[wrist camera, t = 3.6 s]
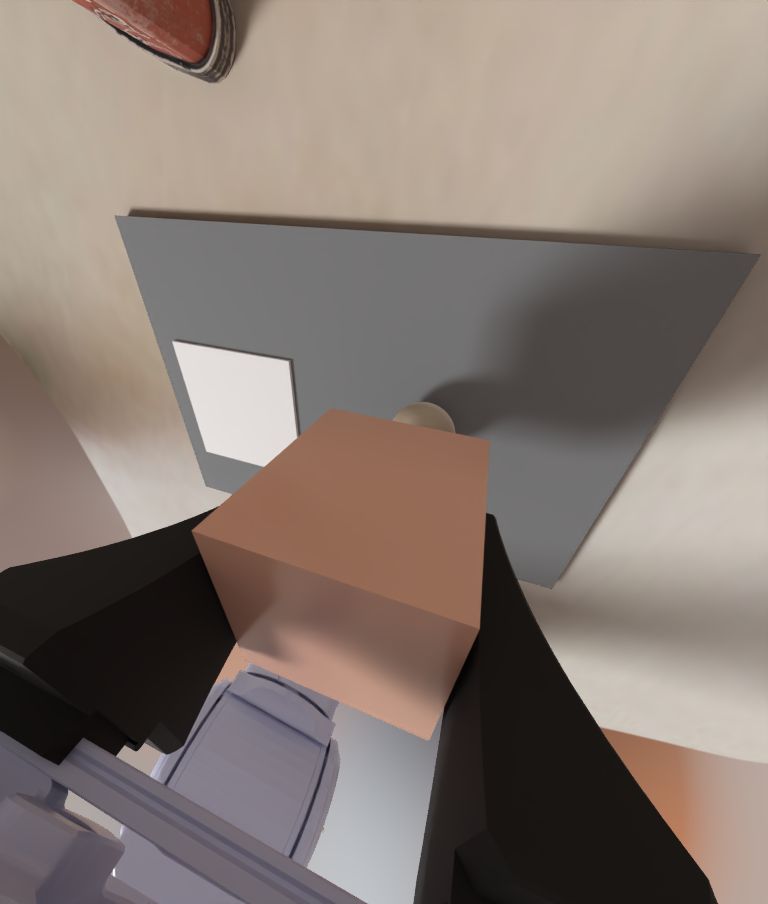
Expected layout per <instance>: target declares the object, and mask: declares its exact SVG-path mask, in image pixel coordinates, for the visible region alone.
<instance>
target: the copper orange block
mask: <svg viewBox="0 0 768 904" xmlns="http://www.w3.org/2000/svg"><path fill="white" fill-rule="evenodd" d="M489 447H490V440H485V439H480V438H476V437H471V436H466V435H461V434H456V433H451V432H446V431H441V430H436V429H431V428H427V427H422V426H417V425H412V424H407V423H402V422H397V421H392V420H387V419H382V418H378V417H373V416H368V415H363V414H358V413H353V412H348V411H343V410H338V409H333V408H331V409H330V410H328V411H327V412H326V413H325V414H324V415H323V416H322V417H320V418H319V419H318V420H317V421H316V422H315V423H314V424H312V425H311V426H310V427H309V428H308V429H307V430H306V431H304V432H303V433H302V434H301V435H300V436H299V437H298V438H297V439H295V440H294V441H293V442H292V443H291V444H290V445H289V446H287V447H286V448H285V449H284V450H283V451H282V452H281V453H279V454H278V455H277V456H276V457H275V458H274V459H273V460H271V461H270V462H269V463H268V464H267V465H266V466H265V467H264V468H262V469H261V470H260V471H259V472H258V473H257V474H256V475H254V476H253V477H252V478H251V479H250V480H249V481H248V482H246V483H245V484H244V485H243V486H242V487H241V488H240V489H238V490H237V491H236V492H235V493H234V494H233V495H232V496H231V497H229V498H228V499H227V500H226V501H225V502H224V503H223V504H221V505H220V506H219V507H218V508H217V509H216V510H215V511H213V512H212V513H211V514H210V515H209V516H208V517H207V518H205V519H204V520H203V521H202V522H201V523H200V524H199V525H198V526H196V527H195V528H194V529H193V530H192V533H193V536H194V538H195V541H196V543H197V545H198V548H199V550H200V553H201V555H202V558H203V560H204V563H205V565H206V567H207V570H208V572H209V575H210V577H211V580H212V582H213V585H214V587H215V589H216V592H217V594H218V597H219V599H220V602H221V604H222V607H223V609H224V611H225V614H226V616H227V619H228V621H229V624H230V626H231V629H232V631H233V633H234V636H235V638H236V641H237V643H238V646H239V648H240V651H241V653H242V655H243V658H244V660H245V661H247V662H249V663H252V664H254V665H256V666H258V667H261V668H263V669H265V670H268V671H270V672H272V673H274V674H277V675H279V676H281V677H284V678H286V679H288V680H290V681H293V682H295V683H297V684H300V685H302V686H304V687H307V688H309V689H311V690H313V691H316V692H318V693H320V694H323V695H325V696H327V697H329V698H332V699H334V700H336V701H339V702H341V703H343V704H346V705H348V706H350V707H352V708H355V709H357V710H359V711H361V712H364V713H366V714H368V715H371V716H373V717H375V718H378V719H380V720H382V721H384V722H387V723H389V724H391V725H394V726H396V727H398V728H401V729H403V730H405V731H407V732H410V733H412V734H414V735H416V736H419V737H421V738H423V739H426V740H429V739H430V737H431V734H432V732H433V730H434V728H435V726H436V724H437V722H438V719H439V717H440V715H441V713H442V711H443V708H444V706H445V704H446V702H447V700H448V697H449V695H450V693H451V691H452V689H453V686H454V684H455V682H456V680H457V678H458V675H459V673H460V671H461V669H462V667H463V664H464V662H465V660H466V658H467V656H468V653H469V651H470V649H471V647H472V645H473V642H474V640H475V638H476V636H477V634H478V631H479V629H480V613H481V595H482V576H483V558H484V540H485V521H486V503H487V484H488V466H489Z"/></svg>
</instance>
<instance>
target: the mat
mask: <svg viewBox="0 0 768 904" xmlns="http://www.w3.org/2000/svg"><path fill="white" fill-rule="evenodd" d="M115 218H116V221H117V224H118V227H119V230H120V233H121V236H122V239H123V242H124V245H125V248H126V251H127V254H128V257H129V260H130V263H131V266H132V269H133V272H134V275H135V278H136V281H137V283H138V286H139V289H140V292H141V295H142V298H143V301H144V304H145V307H146V310H147V313H148V316H149V319H150V322H151V325H152V328H153V331H154V334H155V337H156V340H157V343H158V346H159V349H160V352H161V355H162V358H163V360H164V363H165V366H166V369H167V372H168V375H169V378H170V381H171V384H172V387H173V390H174V393H175V396H176V399H177V402H178V405H179V408H180V411H181V414H182V417H183V420H184V423H185V426H186V429H187V432H188V434H189V437H190V440H191V443H192V446H193V449H194V452H195V455H196V458H197V461H198V464H199V467H200V470H201V473H202V476H203V479H204V482H205V485H206V486H207V487H210V488H214V489H217V490H221V491H224V492H227V493H231V494H234V493H235V492H236V491H237V490H238V489H240V488H241V487H242V486H243V485H244V484H245V483H246V482H248V481H249V480H250V479H251V478H252V477H253V476H254V475H256V474H257V473H258V472H259V471H260V470H261V469H262V468H264V467H265V466H266V465H267V464H268V463H269V462H270V461H271V460H273V459H274V458H275V457H276V456H277V455H278V454H279V453H281V452H282V451H283V450H284V449H285V448H286V447H287V446H289V445H290V444H291V443H292V442H293V441H294V440H295V439H297V438H298V437H299V436H300V435H301V434H302V433H303V432H304V431H306V430H307V429H308V428H309V427H310V426H311V425H312V424H314V423H315V422H316V421H317V420H318V419H319V418H320V417H322V416H323V415H324V414H325V413H326V412H327V411H328V410H330V409H331V408H333V409H338V410H343V411H348V412H353V413H358V414H363V415H368V416H373V417H378V418H382V419H387V420H393V418H394V417H395V415H396V414H397V413H398V412H399V411H400V410H401V409H402V408H404V407H406V406H407V405H410V404H412V403H416V402H429V403H433V404H435V405H437V406H439V407H441V408H442V409H444V410H445V411H446V412H447V413H448V415H449V416H450V418H451V419H452V421H453V424H454V427H455V433H456V434H461V435H466V436H471V437H476V438H480V439H485V440H490V447H489V466H488V484H487V503H486V513H489V514H492V515H494V516H495V518H496V520H497V524H498V528H499V531H500V535H501V538H502V541H503V544H504V547H505V550H506V553H507V555H508V558H509V561H510V563H511V566H512V568H513V571H514V573H515V576H516V578H517V579H520V580H523V581H526V582H530V583H533V584H536V585H540V586H543V587H547V588H550V589H552V588H553V586H554V585H555V583H556V582H557V580H558V578H559V577H560V575H561V574H562V572H563V570H564V569H565V567H566V566H567V564H568V562H569V561H570V559H571V558H572V556H573V554H574V553H575V551H576V550H577V548H578V546H579V545H580V543H581V542H582V540H583V538H584V537H585V535H586V534H587V532H588V530H589V529H590V527H591V526H592V524H593V522H594V521H595V519H596V518H597V516H598V514H599V513H600V511H601V510H602V508H603V506H604V505H605V503H606V502H607V500H608V498H609V497H610V495H611V494H612V492H613V490H614V489H615V487H616V486H617V484H618V482H619V481H620V479H621V478H622V476H623V474H624V473H625V471H626V470H627V468H628V466H629V465H630V463H631V462H632V460H633V458H634V457H635V455H636V454H637V452H638V450H639V449H640V447H641V446H642V444H643V442H644V441H645V439H646V438H647V436H648V434H649V433H650V431H651V430H652V428H653V426H654V425H655V423H656V421H657V420H658V418H659V417H660V415H661V413H662V412H663V410H664V409H665V407H666V405H667V404H668V402H669V401H670V399H671V397H672V396H673V394H674V393H675V391H676V389H677V388H678V386H679V385H680V383H681V381H682V380H683V378H684V377H685V375H686V373H687V372H688V370H689V369H690V367H691V365H692V364H693V362H694V361H695V359H696V357H697V356H698V354H699V353H700V351H701V349H702V348H703V346H704V345H705V343H706V341H707V340H708V338H709V337H710V335H711V333H712V332H713V330H714V329H715V327H716V325H717V324H718V322H719V321H720V319H721V317H722V316H723V314H724V313H725V311H726V309H727V308H728V306H729V305H730V303H731V301H732V300H733V298H734V297H735V295H736V293H737V292H738V290H739V289H740V287H741V285H742V284H743V282H744V281H745V279H746V277H747V276H748V274H749V273H750V271H751V269H752V268H753V266H754V265H755V263H756V261H757V260H758V258H759V257H760V255H761V254H746V253H730V252H713V251H697V250H680V249H663V248H647V247H630V246H613V245H597V244H580V243H564V242H547V241H530V240H514V239H497V238H480V237H464V236H447V235H431V234H414V233H397V232H381V231H364V230H347V229H331V228H314V227H298V226H281V225H264V224H248V223H231V222H214V221H198V220H181V219H165V218H148V217H131V216H115Z"/></svg>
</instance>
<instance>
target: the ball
mask: <svg viewBox="0 0 768 904" xmlns="http://www.w3.org/2000/svg"><path fill="white" fill-rule="evenodd" d="M392 421H397V422H402V423H407V424H412V425H417V426H422V427H427V428H431V429H436V430H441V431H446V432H451V433H455V427H454V424H453V421H452V419H451V418H450V416H449V415H448V413H447V412H446V411H445V410H444V409H442V408H441V407H439V406H437V405H435V404H433V403H429V402H416V403H412V404H410V405H407V406H406V407H404V408H402V409H401V410H400V411H399V412H398V413H397V414H396V415H395V417H394V418H393V420H392Z"/></svg>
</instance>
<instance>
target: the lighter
mask: <svg viewBox="0 0 768 904" xmlns="http://www.w3.org/2000/svg"><path fill="white" fill-rule="evenodd" d="M73 1H74V2H76V3H78V4H79V5H81V6H83V7H84V8H86V9H87V10H89V11H90V12H91V13H92V14H93V15H95V16H96V17H97V18H98V19H100V20H101V21H102V22H103V23H104V24H106V25H107V26H108V27H109V28H110V29H112V30H113V31H114V32H115V33H117V34H118V35H119V36H120V37H121V38H123V39H125V40H126V41H128V42H130V43H132V44H133V45H135V46H137V47H138V48H140V49H142V50H143V51H145V52H147V53H148V54H150V55H152V56H154V57H155V58H157V59H159V60H160V61H162V62H164V63H166V64H167V65H169V66H171V67H172V68H174V69H176V70H178V71H180V72H183V73H186V74H188V75H191V76H193V77H196V78H198V79H201V80H204V81H206V82H209V83H219V82H220V81H221V80H223V79H224V78H226V76H227V74H228V72H229V70H230V68H231V66H232V62H233V58H234V54H235V42H236V29H235V22H234V14H233V10H232V7H231V4H230V1H229V0H73Z"/></svg>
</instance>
